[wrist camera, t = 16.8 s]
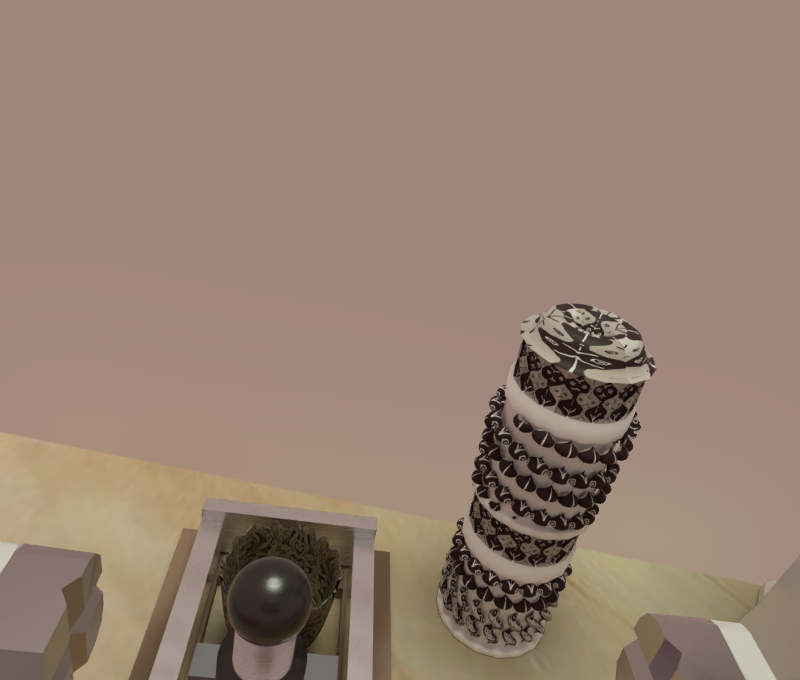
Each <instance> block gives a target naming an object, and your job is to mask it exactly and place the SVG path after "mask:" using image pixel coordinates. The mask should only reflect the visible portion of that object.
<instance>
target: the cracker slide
mask: <svg viewBox="0 0 800 680" xmlns="http://www.w3.org/2000/svg"><path fill="white" fill-rule="evenodd" d="M275 521H278V522H279V523H280V525H281V526H282V529H283V531H285V530H286V528H287V527H290V526H291V525H293V524H294V523H296V522H298V523H299V524H300V526H301V527H302V528H304V527H308V526H309V527H312V528H313V529H314V531H315V533H316V537H317V541H318V540H319V539H320V538H321V537H322V536H325V535H326V536H327V538H328V540H329V548H330V549H332V550H333V549H336V550H339V552H340V556H341V565H345V566H348V579H347V596H346V613H345V630H344V648H343V665H342V680H372V671H373V601H374V539H375V535H376V531H377V518H373V517H365V516H357V515H348V514H340V513H332V512H323V511H315V510H307V509H299V508H290V507H282V506H274V505H266V504H257V503H249V502H241V501H233V500H224V499H216V498H208V497H206V500H205V503H204V506H203V509H202V520H201V523H200V526H199V529H198V532H197V535H196V538H195V541H194V544H193V548H192V551H191V554H190V557H189V560H188V563H187V566H186V569H185V572H184V575H183V578H182V581H181V584H180V587H179V590H178V593H177V596H176V599H175V602H174V605H173V608H172V611H171V614H170V617H169V620H168V623H167V626H166V629H165V632H164V635H163V638H162V641H161V644H160V647H159V650H158V653H157V656H156V659H155V662H154V665H153V668H152V671H151V674H150V677H149V680H185V677H186V674H187V670H188V667H189V663H190V660H191V656H192V653H193V649H194V645H195V642H196V638H197V635H198V631H199V628H200V624H201V620H202V617H203V613H204V610H205V606H206V603H207V599H208V595H209V592H210V588H211V585H212V581H213V578H214V574H215V570H216V567H217V563H218V560H219V556H220V553H221V552H229V553H230V552H231V548H232V541H233V538H234V537H235V536H237V535H241V536H242V535H243V533H245V532H246V531H247V529H248V528H249V527H250V526H251V525H253V524H256V525H262V526H264V527H265V528H269V529H270V528H271V526H272V525H273V523H274V522H275ZM317 543H318V542H317ZM312 601H313V596H312V588H311V585H310V582H309V579H308V577H307V576H306V574H305V573H304V571H303V570H302V569H301V568H300V567H299V566H298V565H297V564H295V563H294V562H292V561H290V560H288V559H285V558H282V557H274V556H272V557H264V558H260V559H257V560H255V561H253V562H251V563H250V564H248V565H246V566H245V567H244V568H243V569H242V570H241V571H240V572H239V573H238V574H237V576H236V577H235V579H234V580H233V582H232V584H231V587H230V589H229V592H228V598H227V612H228V617H229V620H230V623H231V625H232V627H233V630H232V631H231V632H230V633H229V634H228V635H227V636H226V637H225V639H224V640H223V642H222V643H221V645H220V648H219V651H218V655H217V663H216V676H215V680H304V676H305V670H306V665H307V650H306V646H305V644H304V641H303V639H302V638H301V636H300V635H299V634H298V633H299V632H300V631H301V630H302V628H303V627H304V626H305V624H306V622H307V620H308V618H309V615H310V613H311V609H312Z"/></svg>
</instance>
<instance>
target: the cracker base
mask: <svg viewBox="0 0 800 680" xmlns="http://www.w3.org/2000/svg"><path fill="white" fill-rule="evenodd" d="M197 532H198V530H194V529H185V528H183V531H182V534H181V537H180V539H179V542H178V545H177V548H176V550H175V553H174V556H173V559H172V562H171V564H170V567H169V570H168V573H167V575H166V578H165V581H164V584H163V587H162V589H161V592H160V595H159V598H158V600H157V603H156V606H155V609H154V612H153V614H152V617H151V620H150V623H149V626H148V628H147V631H146V634H145V637H144V639H143V642H142V645H141V648H140V651H139V653H138V656H137V659H136V662H135V664H134V667H133V670H132V673H131V676H130V678H129V680H149V677H150V674H151V671H152V668H153V665H154V662H155V659H156V656H157V653H158V650H159V647H160V644H161V641H162V638H163V635H164V632H165V629H166V626H167V623H168V620H169V617H170V614H171V611H172V608H173V605H174V602H175V599H176V596H177V593H178V590H179V587H180V584H181V581H182V578H183V575H184V572H185V569H186V566H187V563H188V560H189V557H190V554H191V551H192V548H193V544H194V541H195V538H196V535H197ZM226 555H229V552H221V553H220V556H219V560H218V563H217V567H216V570H215V574H214V578H213V581H212V585H211V588H210V592H209V595H208V599H207V603H206V606H205V610H204V613H203V617H202V620H201V624H200V628H199V631H198V635H197V638H196V642H195V645H194V649H193V653H192V656H191V660H190V663H189V667H188V670H187V674H186V677H185V680H215V676H216V663H217V655H218V651H219V648H220V645H219V644H209V643H202V641H203V637H204V634H205V630H206V626H207V623H208V619H209V615H210V611H211V608H212V604H213V600H214V597H215V593H216V589H217V586H218V585H221V579H220V574H219V569H220V562H221V558H223V561H225V558H226ZM341 571H342V579H341V581H340V583H339V586H338V589H337V592H336V595H335V597H337V598H341V608H340V623H339V638H338V653H337V656H332V655H322V654H311V653H307V665H306V670H305V676H304V680H342V665H343V648H344V630H345V613H346V596H347V579H348V566H345V565H341ZM372 680H391V619H390V552H384V551H376V550H374V601H373V671H372Z"/></svg>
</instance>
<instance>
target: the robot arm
mask: <svg viewBox="0 0 800 680" xmlns="http://www.w3.org/2000/svg"><path fill="white" fill-rule="evenodd" d="M101 573H102V565H101V555H99V554H96V553H89V552H81V551H74V550H67V549H59V548H52V547H45V546H38V545H30V544H21V543H13V542H5V541H0V680H73V673H74V672H75V671H76V670H77V669H79V668H80V667H81V666H83V665H84V664H85V663H87V661H88V659H89V657H90V654H91V652H92V649H93V647H94V645H95V642H96V638H97V635H98V631H99V628H100V624H101V620H102V612H103V592H102V591H101V590H100V589H99V588H98V587H97V586H96V583H97V581H98V579H99V577H100V575H101ZM634 630H635V633H636V635H637V638H638V639H637V640H635V641H634V642H632V643H630V644H628V645H627V646H625V647H624V648H623V650H622V652H621V654H620V657H619V659H618V661H617V668H616V680H800V556H799V557H798V558H797V559H796V560H795V561H794V562H793V564H792V565H791V566H790V567H789V568H788V569H787V570H786V572H785V573H784V574H783V575H782V576H781V577H780V578H779V580H774V579H772V580H768V581H767V582H766V583H765V584H764V585H763V586H762V588H761V589H760V592H759V597H758V604H757V605H756V606H755V607H754V608H753V609H752V610H751V611H749V612H748V613H747V614H746V615H745V616H744V617H743V618H742V619H741V621H740V622H739V623H734V622H725V621H716V620H706V619H702V618H692V617H681V616H671V615H660V614H650V613H647V614H645V615H644V616H642V617H640V619H639V620H638V622H637V624H636V626H635V627H634Z"/></svg>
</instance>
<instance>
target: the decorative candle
mask: <svg viewBox="0 0 800 680" xmlns="http://www.w3.org/2000/svg"><path fill="white" fill-rule="evenodd" d="M521 336H522V337H523V342H522V344H521V346H520V349H519V353H518V358H517V361H516V362H515V363H514V364H512V365H511V369H510V372H509V375H508V378H507V382H506V385H503V386H501V387H500V388H499V389H498V390H497V396H494V397H493V398H491V400H490V403H489V405H490V408H491V410H492V411H491V412H490V413H489V414H488V415H487V416H486V417H485V424H486V426H487V427H488V428H486V429H485V430H484V431H483V433H482V438H483V439H484V440H482V441H481V442H480V444H479V451H480V453H481V455H480V456H478V457H476V458H475V460H474V464H475V466H476V467H475V471H474V472H473V474H472V480H473V487H474V490H475V493H474V497H473V498H472V500H471V501H470V502H469V503H468V506H467V510H466V513H465V516H464V518H461V519H460V520H458V522H457V528H458V529H459V530H458V531H457V532H456V533H455V535H454V536H453V538H452V541H453V544H454V545H455V546H453V547H452V548H451V549H450V551H449V552H448V553H447V555H446V562H447V563H446V565H445V566H444V567H443V569H442V579H441V581H440V583H439V589H438V594H437V600H436V602H437V606H438V609H439V613H440V617H441V620H442V621H443V623H444V624H445V625H446V627H447V628H448V629H449V631H450V632H451V633H452V635H453V636H454V637H455V638H456V639H457V640H459V641H460V642H462V643H463V644H464V645H466V646H467V647H469V648H470V649H472V650H473V651H475V652H478V653H481V654H485V655H488V656H491V657H494V658H510V657H519V656H521V655H523V654H525V653H526V652H528V651H530V650H532V649H534V648H535V647H536V645H537V643H538V641H539V640H540V638H541V636H542V635H543V633H544V631H545V620H546V621H550V620H551V619H552V617H551V613H550V612H549V611H548V610H547V607H549V606H551V607H557V606H558V601H557V600H558V598H559V594H558V592H559V591H562V590H563V589H564V588H565V582H566V579H565V577H567V576H569V575H570V574H571V573H572V567H571V565H570V564H569V563H570V561H571V559H572V556H573V554H574V552H575V549H576V540H577V538H578V536H579V535H580V534H582V533H584V532H586V530H587V528H588V527H589V525H590V524H592V523H593V522H594V520H595V515H596V514H598V512H599V507H598V505H597V504H596V503H598V504H601V503H604V502H605V500H606V494H609V493H610V492H611V486H610V484H611V483H613V482H614V481H615V479H616V474H617V473H618V472H619V469H620V468H619V465H618V463H617V462H616V461H617V460H620V461H623V460H626V459H627V457H628V455H629V451H631V450H632V449H633V444H632V442H631V441H630V439H634V438H635V437H636V436H637V434H636V433H635V432H634V431H637V430H639V429H640V428H641V426H640V425H639V423H640V422H639V421H637V420H636V419H635V418H636V416H637V413H636V407H635V404H636V402H637V400H638V397H639V395H640V393H641V390H642V388H643V386H644V383H645V381H646V380H648V379H650V377H651V376H652V375H653V373H654V372H655V370H656V367H655V363H654V360H653V357H652V356H651V355H650V354H649V353H648V352H647V350H646V349H645V347H644V344H643V340H642V337H641V335H640V333H639V332H638V331H637V330H636V329H635V328H634V327H633V326H632V325H631V324H630V323H628V322H627V321H625V320H623V319H622V318H620V317H619V316H617V315H615V314H612V313H610V312H607V311H605V310H602V309H599V308H596V307H592V306H588V305H583V304H571V303H567V304H561V305H555V306H553V307H551V308H550V309H548V310H547V311H545V312H544V313H543V314H539V315H533V316H531V317H529V318H528V319H526V320H525V321H524V322H522V323H521ZM503 400H504V401H505V400H506V401H505V403H500V402H501V401H503ZM493 426H494V427H495V428H493ZM627 429H628V431H627ZM616 443H620V448H619V449H618V450H617V451H616V452H614V451H613V449H614V447H615V445H616ZM606 466H607V470H606V472H605V471H604V470H605V468H606ZM596 489H599V490H598V491H597V492H596V493H595V491H596ZM594 493H595V494H594Z"/></svg>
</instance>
